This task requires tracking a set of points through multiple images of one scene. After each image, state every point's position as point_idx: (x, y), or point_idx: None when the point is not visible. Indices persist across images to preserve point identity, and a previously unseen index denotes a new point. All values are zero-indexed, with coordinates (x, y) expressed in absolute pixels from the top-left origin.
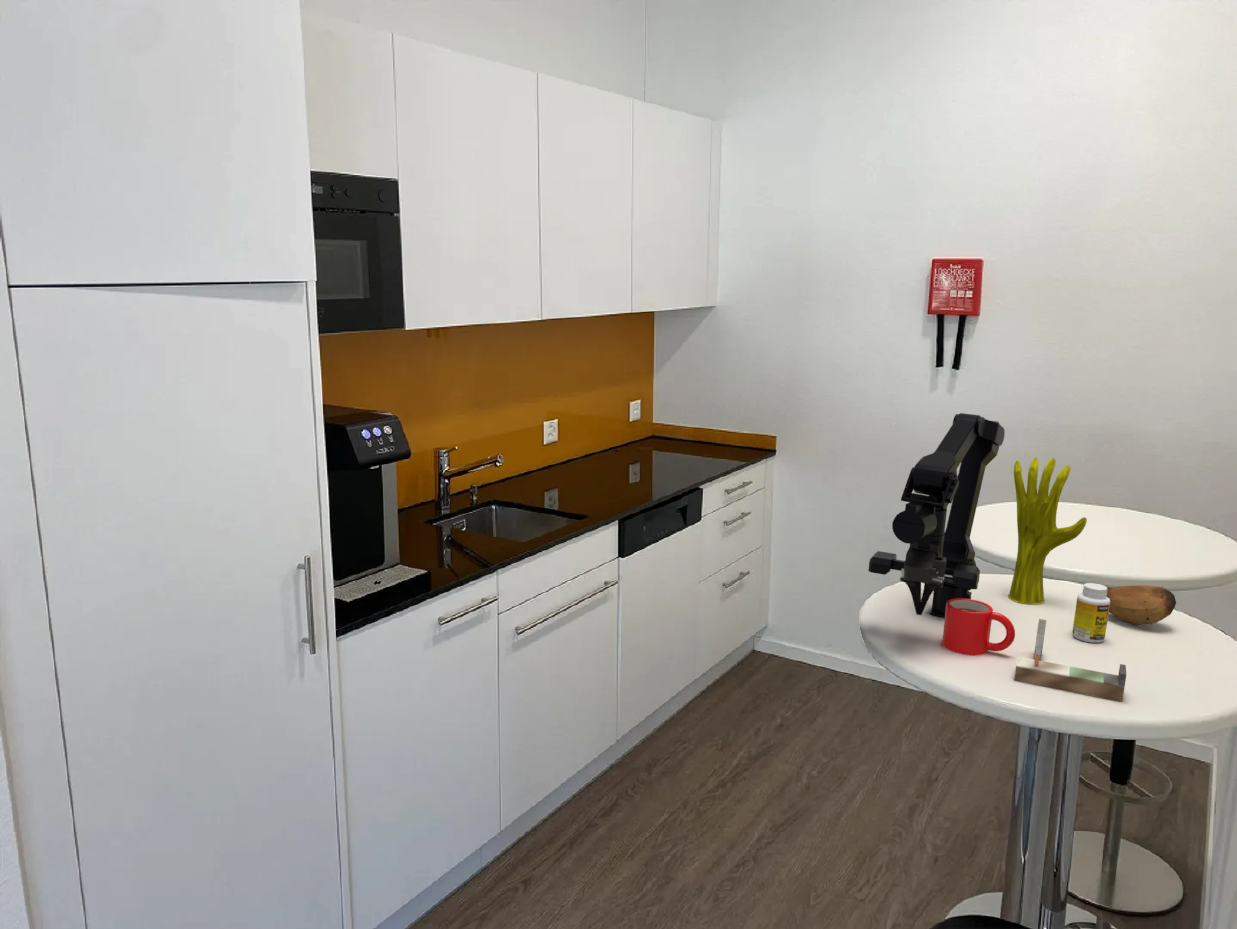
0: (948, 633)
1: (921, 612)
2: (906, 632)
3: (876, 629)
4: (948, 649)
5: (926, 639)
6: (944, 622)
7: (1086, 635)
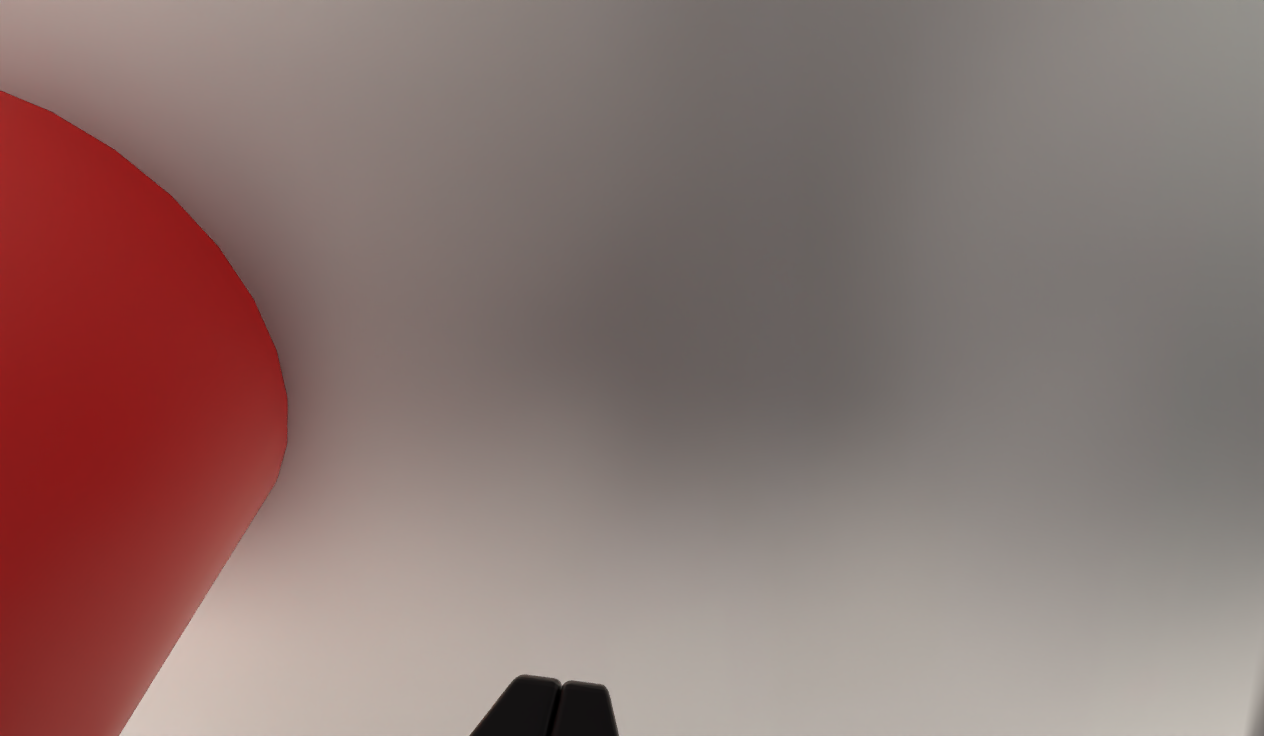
0: (2, 311)
1: (495, 719)
2: (772, 537)
3: (1206, 501)
4: (117, 155)
5: (491, 409)
6: (89, 563)
7: None
